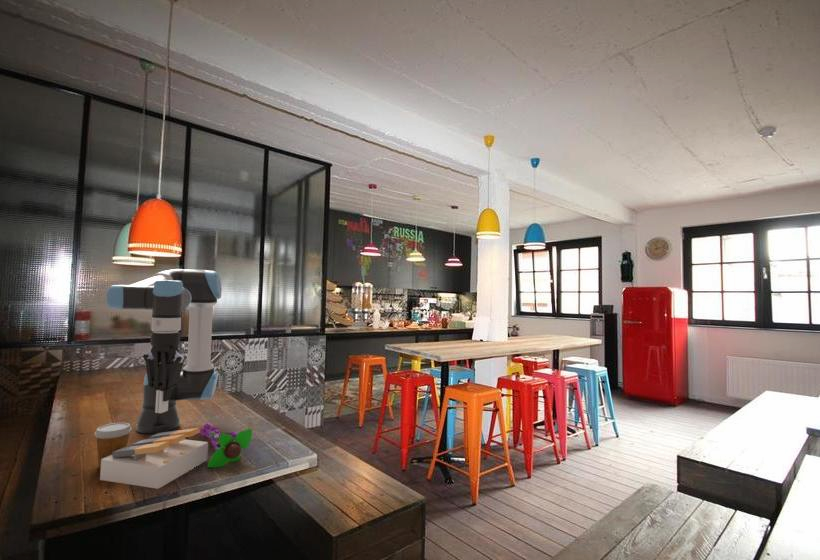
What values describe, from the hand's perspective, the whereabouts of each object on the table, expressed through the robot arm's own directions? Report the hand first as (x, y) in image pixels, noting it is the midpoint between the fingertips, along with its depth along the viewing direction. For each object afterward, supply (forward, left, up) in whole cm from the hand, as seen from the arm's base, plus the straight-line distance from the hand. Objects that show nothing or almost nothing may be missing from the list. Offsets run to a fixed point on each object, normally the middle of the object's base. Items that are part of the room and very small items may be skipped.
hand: (161, 411), depth 118 cm
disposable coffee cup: (-23, +6, -21) cm, 31 cm away
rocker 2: (-7, +13, -12) cm, 19 cm away
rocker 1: (-7, 0, -12) cm, 13 cm away
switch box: (-7, +7, -20) cm, 22 cm away
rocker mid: (-7, +7, -12) cm, 15 cm away
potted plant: (+1, +24, -21) cm, 32 cm away
